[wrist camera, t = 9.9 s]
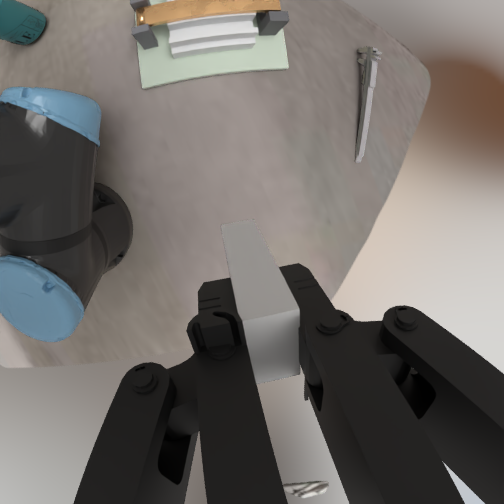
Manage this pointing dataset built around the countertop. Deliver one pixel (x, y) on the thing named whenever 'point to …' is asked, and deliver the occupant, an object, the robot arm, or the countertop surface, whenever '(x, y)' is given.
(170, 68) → the processor board
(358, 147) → the caliper
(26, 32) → the beverage bottle
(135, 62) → the countertop surface
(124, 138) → the countertop surface
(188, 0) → the bar
